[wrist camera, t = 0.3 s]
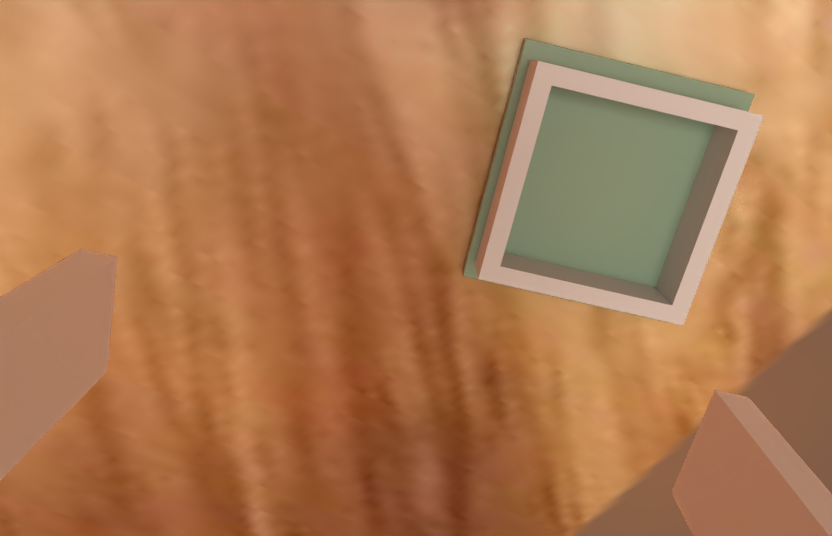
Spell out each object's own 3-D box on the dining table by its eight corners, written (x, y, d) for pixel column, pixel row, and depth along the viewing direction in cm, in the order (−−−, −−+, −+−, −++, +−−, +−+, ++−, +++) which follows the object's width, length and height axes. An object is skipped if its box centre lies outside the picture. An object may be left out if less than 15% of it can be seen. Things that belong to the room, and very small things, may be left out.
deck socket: (524, 38, 38) (534, 38, 34) (746, 92, 38) (780, 98, 35) (462, 270, 42) (465, 293, 38) (663, 316, 43) (685, 342, 39)
